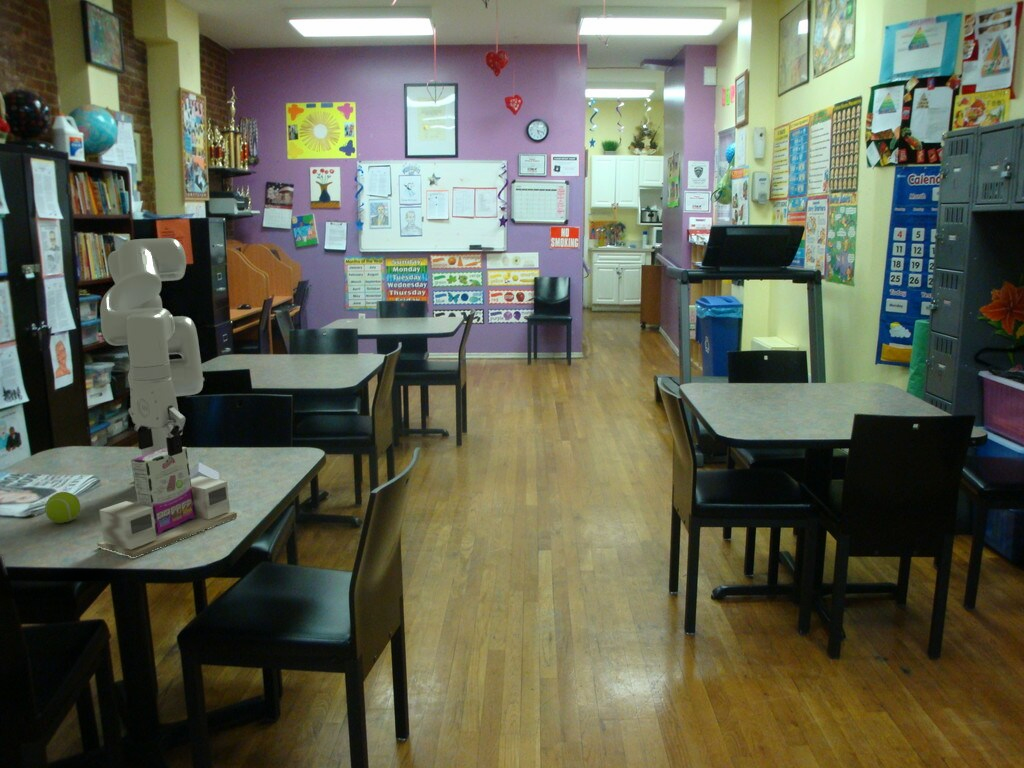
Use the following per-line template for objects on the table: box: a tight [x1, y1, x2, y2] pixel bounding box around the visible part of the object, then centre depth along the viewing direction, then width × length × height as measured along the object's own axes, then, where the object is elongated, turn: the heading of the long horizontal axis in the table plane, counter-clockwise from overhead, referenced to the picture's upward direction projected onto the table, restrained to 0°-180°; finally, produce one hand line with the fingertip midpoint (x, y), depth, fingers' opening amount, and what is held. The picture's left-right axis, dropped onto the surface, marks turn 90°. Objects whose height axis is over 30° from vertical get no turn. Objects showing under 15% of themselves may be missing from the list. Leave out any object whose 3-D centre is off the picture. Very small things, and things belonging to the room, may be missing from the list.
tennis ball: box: [44, 491, 81, 524], centre depth 190 cm, size 7×7×7 cm
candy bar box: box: [130, 446, 196, 535], centre depth 180 cm, size 11×5×16 cm, turn 156°
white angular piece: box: [189, 462, 220, 480], centre depth 206 cm, size 9×7×13 cm
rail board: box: [97, 476, 238, 557], centre depth 181 cm, size 12×26×8 cm, turn 148°
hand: (160, 450), depth 179 cm, fingers open, 9 cm apart
